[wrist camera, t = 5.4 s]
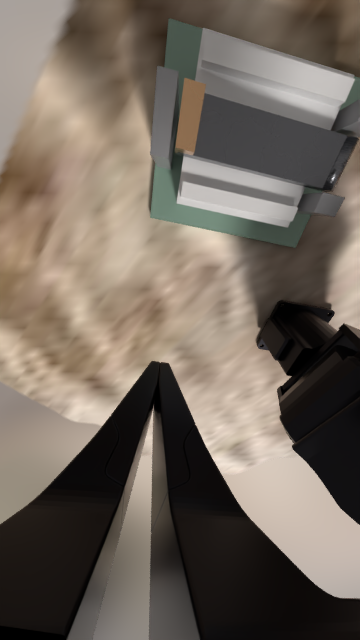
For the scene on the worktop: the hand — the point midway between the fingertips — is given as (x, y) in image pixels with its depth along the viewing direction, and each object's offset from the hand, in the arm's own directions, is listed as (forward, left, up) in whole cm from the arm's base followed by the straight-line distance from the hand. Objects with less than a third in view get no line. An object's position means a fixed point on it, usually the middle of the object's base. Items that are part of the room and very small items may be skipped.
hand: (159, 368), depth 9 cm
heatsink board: (-4, -11, -12) cm, 16 cm away
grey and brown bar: (-4, -11, -8) cm, 14 cm away
